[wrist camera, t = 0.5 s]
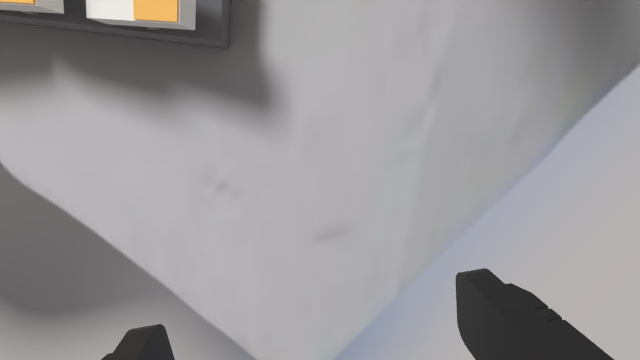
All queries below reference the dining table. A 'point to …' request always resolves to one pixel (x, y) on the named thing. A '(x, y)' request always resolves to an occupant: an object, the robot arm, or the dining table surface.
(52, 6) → the block
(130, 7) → the block
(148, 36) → the power strip
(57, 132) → the dining table surface
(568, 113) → the dining table surface
